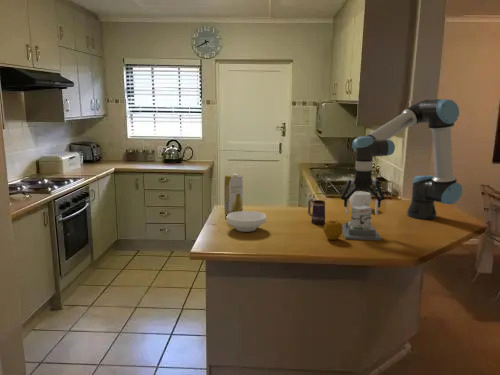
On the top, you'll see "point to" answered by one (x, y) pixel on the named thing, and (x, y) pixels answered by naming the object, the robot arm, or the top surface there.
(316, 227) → the top surface
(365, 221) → the ink box
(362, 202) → the cup
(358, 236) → the tray
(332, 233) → the apple
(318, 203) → the mug
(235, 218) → the bowl
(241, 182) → the juice carton
